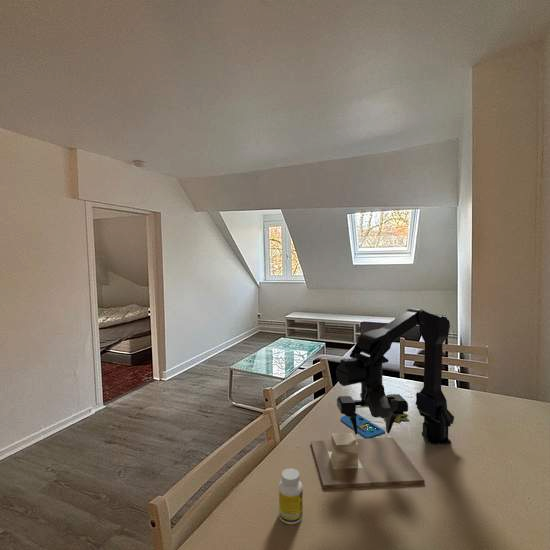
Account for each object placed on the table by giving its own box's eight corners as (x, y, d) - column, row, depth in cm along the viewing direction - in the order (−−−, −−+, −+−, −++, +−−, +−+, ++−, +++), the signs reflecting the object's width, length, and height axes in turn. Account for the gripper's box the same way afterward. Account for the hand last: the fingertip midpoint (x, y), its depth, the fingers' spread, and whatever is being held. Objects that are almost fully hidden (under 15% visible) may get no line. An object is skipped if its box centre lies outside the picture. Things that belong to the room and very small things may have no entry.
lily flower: (416, 425, 114) (416, 412, 113) (381, 425, 114) (381, 412, 114) (403, 409, 126) (403, 397, 125) (372, 409, 126) (372, 397, 126)
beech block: (331, 433, 95) (331, 453, 96) (336, 445, 89) (336, 466, 90) (351, 432, 96) (352, 452, 96) (358, 444, 90) (358, 465, 90)
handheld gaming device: (355, 411, 122) (386, 430, 108) (355, 414, 122) (386, 433, 108) (337, 417, 118) (366, 436, 105) (337, 420, 118) (366, 440, 105)
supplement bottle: (304, 524, 71) (304, 481, 71) (280, 526, 71) (279, 482, 71) (300, 505, 77) (300, 465, 76) (277, 507, 76) (277, 467, 76)
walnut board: (392, 440, 104) (392, 437, 103) (424, 483, 84) (424, 479, 84) (311, 444, 102) (311, 441, 102) (323, 488, 82) (323, 485, 82)
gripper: (346, 391, 83) (346, 451, 84) (418, 389, 84) (417, 448, 85) (336, 376, 95) (336, 429, 95) (399, 374, 95) (399, 426, 96)
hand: (371, 433), depth 93 cm, fingers open, 9 cm apart
